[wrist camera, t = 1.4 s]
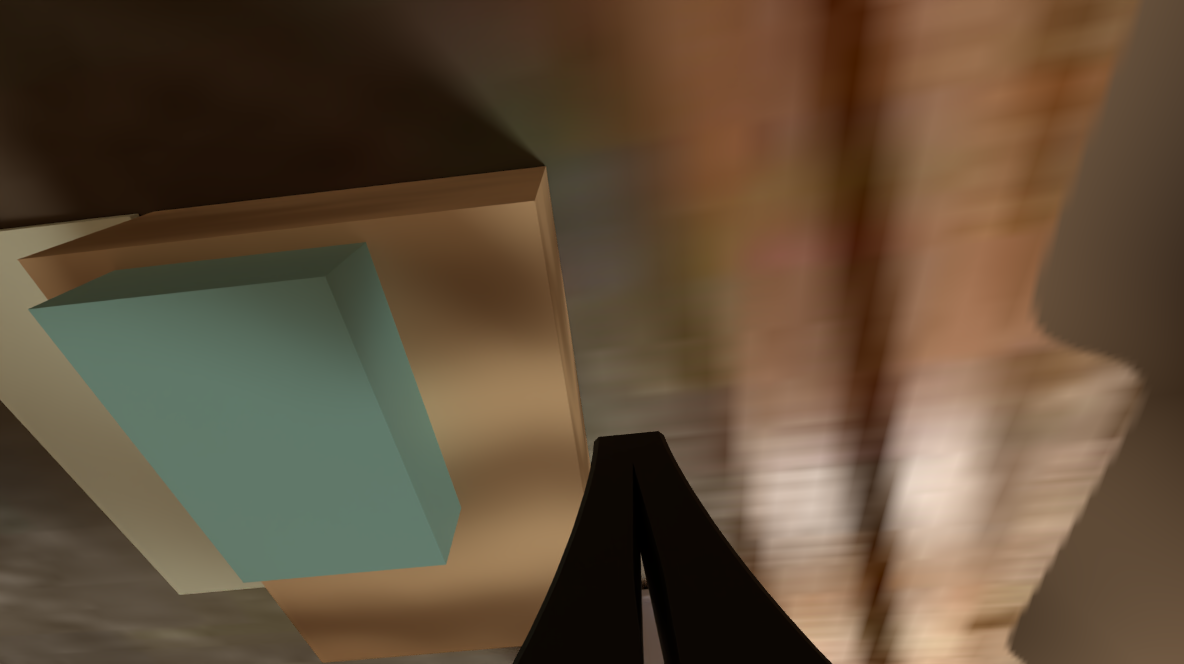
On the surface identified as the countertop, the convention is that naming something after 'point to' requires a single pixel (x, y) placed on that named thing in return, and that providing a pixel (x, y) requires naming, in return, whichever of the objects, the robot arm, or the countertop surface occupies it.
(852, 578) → the countertop surface
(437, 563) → the sage green box
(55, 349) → the mat
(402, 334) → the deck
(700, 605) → the robot arm
